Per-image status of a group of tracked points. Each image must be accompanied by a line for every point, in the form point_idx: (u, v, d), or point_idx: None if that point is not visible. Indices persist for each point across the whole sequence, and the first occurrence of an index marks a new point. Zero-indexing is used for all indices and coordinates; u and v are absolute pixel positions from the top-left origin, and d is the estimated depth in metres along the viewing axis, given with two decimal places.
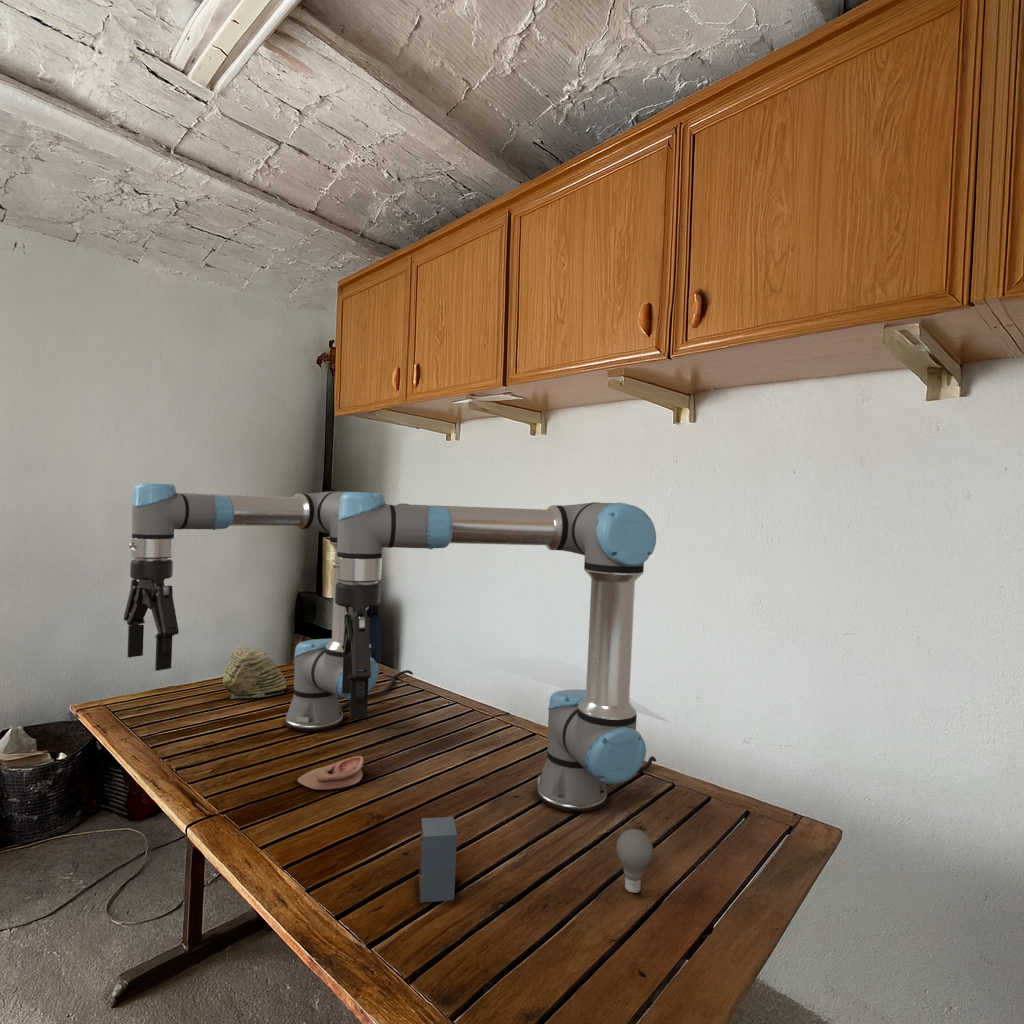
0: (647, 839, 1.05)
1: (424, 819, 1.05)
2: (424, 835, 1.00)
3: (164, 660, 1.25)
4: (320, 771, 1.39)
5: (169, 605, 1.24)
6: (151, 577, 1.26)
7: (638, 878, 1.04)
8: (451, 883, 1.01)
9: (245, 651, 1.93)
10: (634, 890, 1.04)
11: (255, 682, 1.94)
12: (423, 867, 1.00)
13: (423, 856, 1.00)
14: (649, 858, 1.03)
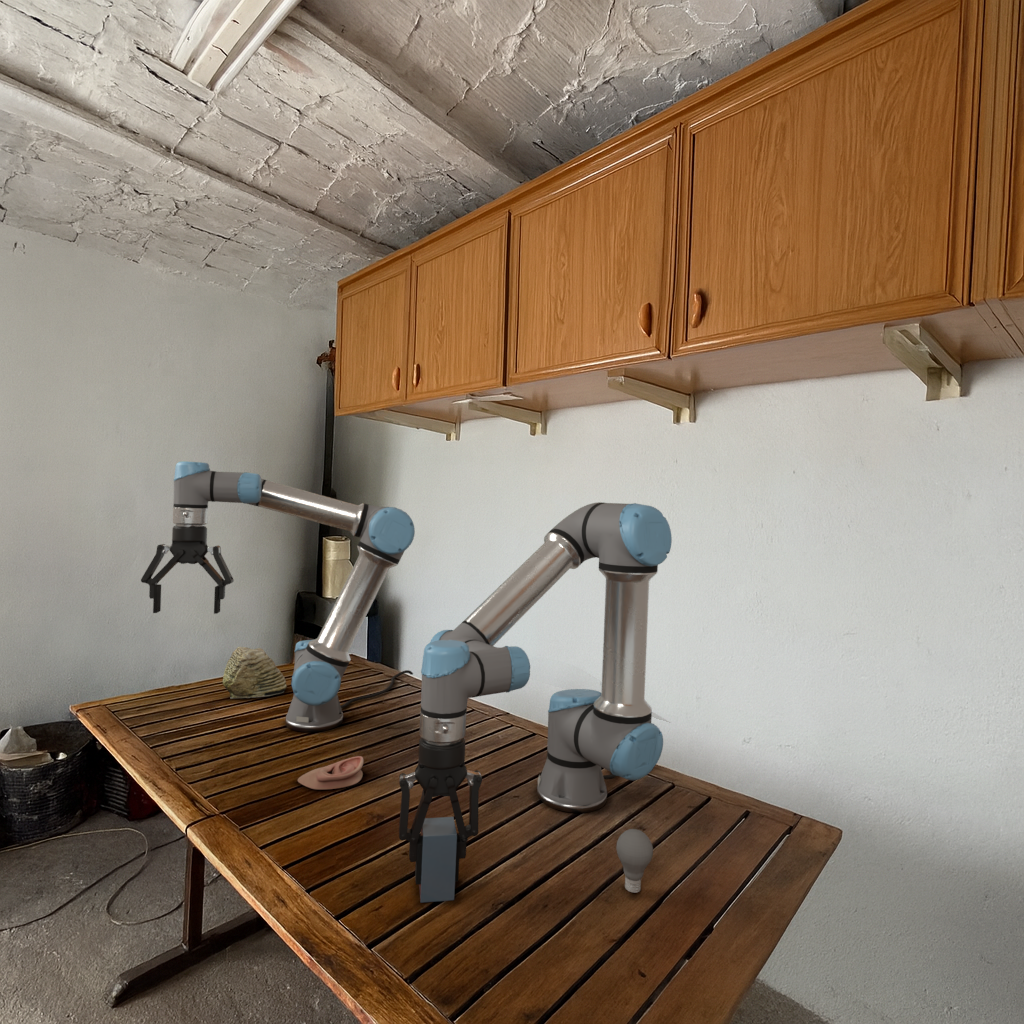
0: (647, 839, 1.05)
1: None
2: (424, 835, 1.00)
3: (218, 605, 1.56)
4: (320, 771, 1.39)
5: (223, 560, 1.56)
6: (203, 539, 1.53)
7: (638, 878, 1.04)
8: (451, 883, 1.01)
9: (245, 651, 1.93)
10: (634, 890, 1.04)
11: (255, 682, 1.94)
12: (423, 867, 1.00)
13: (423, 856, 1.00)
14: (649, 858, 1.03)
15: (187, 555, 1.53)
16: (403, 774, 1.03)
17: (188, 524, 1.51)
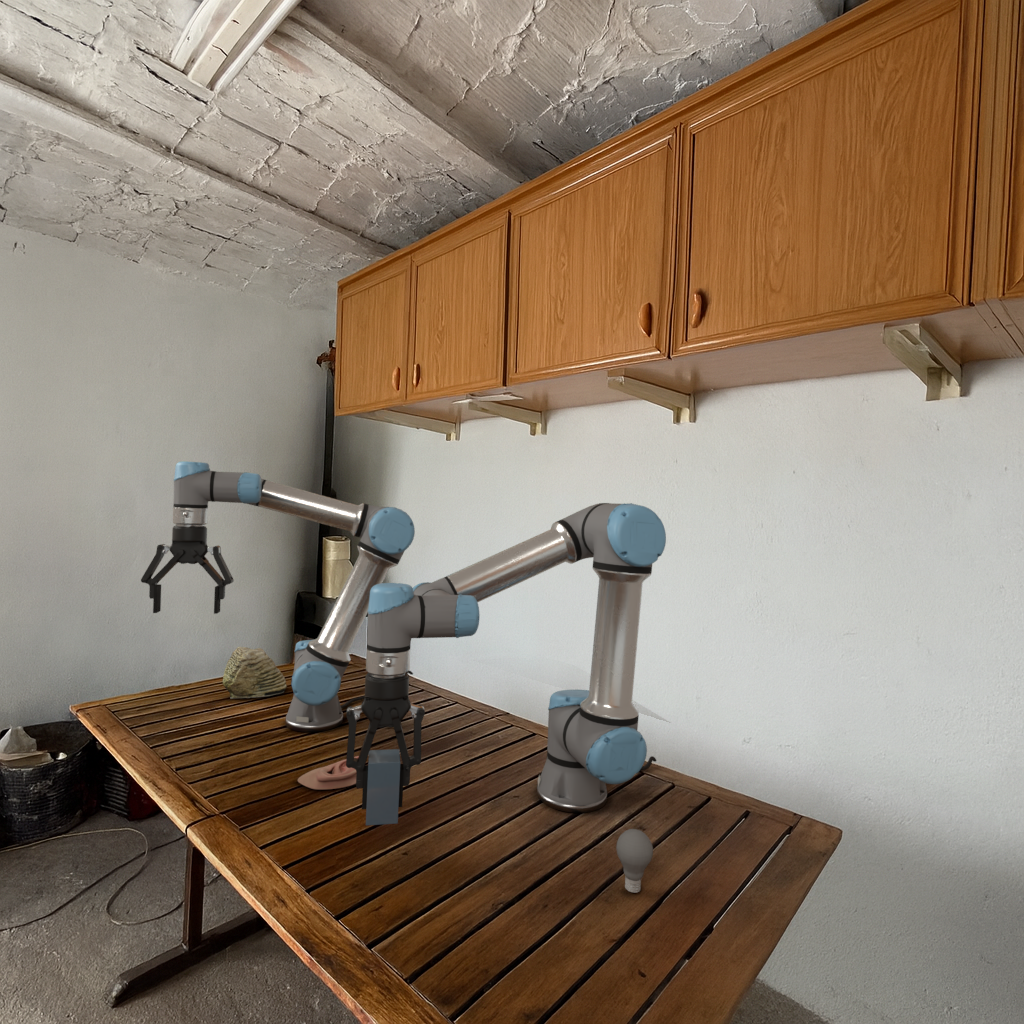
0: (647, 839, 1.05)
1: (371, 751, 1.13)
2: (369, 762, 1.08)
3: (218, 605, 1.56)
4: (320, 771, 1.39)
5: (223, 560, 1.56)
6: (203, 539, 1.53)
7: (638, 878, 1.04)
8: (395, 807, 1.08)
9: (245, 651, 1.93)
10: (634, 890, 1.04)
11: (255, 682, 1.94)
12: (368, 792, 1.07)
13: (368, 782, 1.07)
14: (649, 858, 1.03)
15: (187, 555, 1.53)
16: (350, 707, 1.10)
17: (188, 524, 1.51)
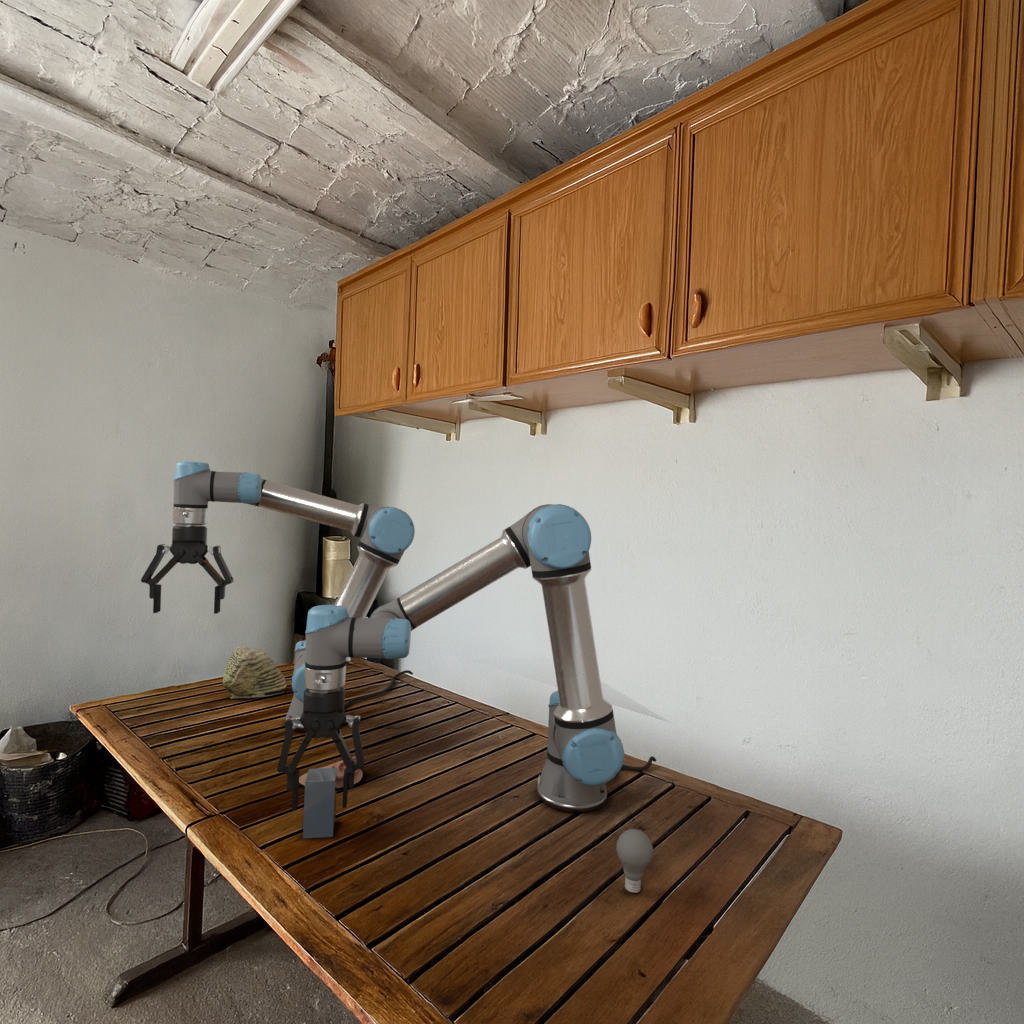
0: (647, 839, 1.05)
1: (311, 769, 1.22)
2: (306, 781, 1.17)
3: (218, 605, 1.56)
4: None
5: (223, 560, 1.56)
6: (203, 539, 1.53)
7: (638, 878, 1.04)
8: (330, 822, 1.18)
9: (245, 651, 1.93)
10: (634, 890, 1.04)
11: (255, 682, 1.94)
12: (305, 808, 1.17)
13: (305, 798, 1.17)
14: (649, 858, 1.03)
15: (187, 555, 1.53)
16: (290, 716, 1.20)
17: (188, 524, 1.51)
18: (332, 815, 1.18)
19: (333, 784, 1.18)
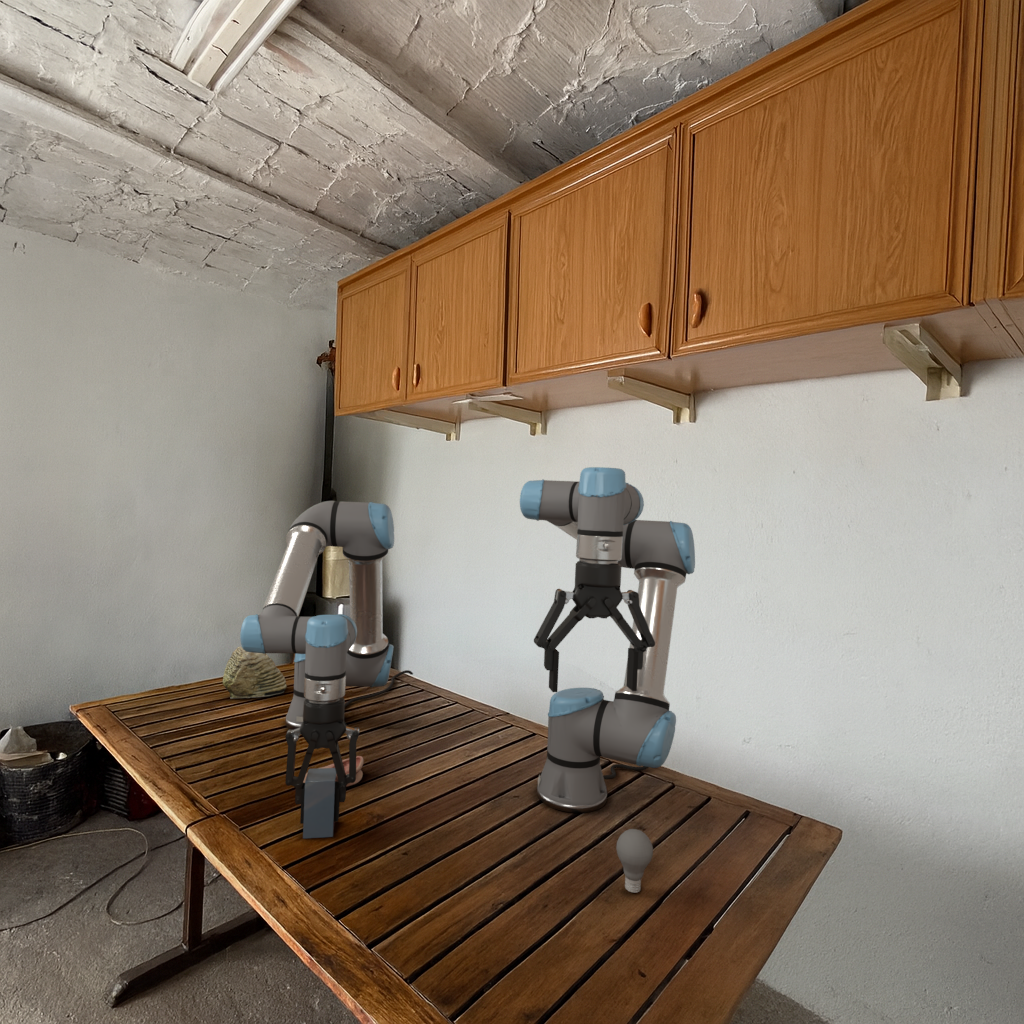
0: (647, 839, 1.05)
1: (311, 769, 1.22)
2: (306, 781, 1.17)
3: None
4: None
5: None
6: (342, 717, 1.20)
7: (638, 878, 1.04)
8: (330, 822, 1.18)
9: (245, 651, 1.93)
10: (634, 890, 1.04)
11: (255, 682, 1.94)
12: (305, 808, 1.17)
13: (305, 798, 1.17)
14: (649, 858, 1.03)
15: (322, 738, 1.19)
16: None
17: (326, 701, 1.17)
18: (332, 815, 1.18)
19: (333, 784, 1.18)
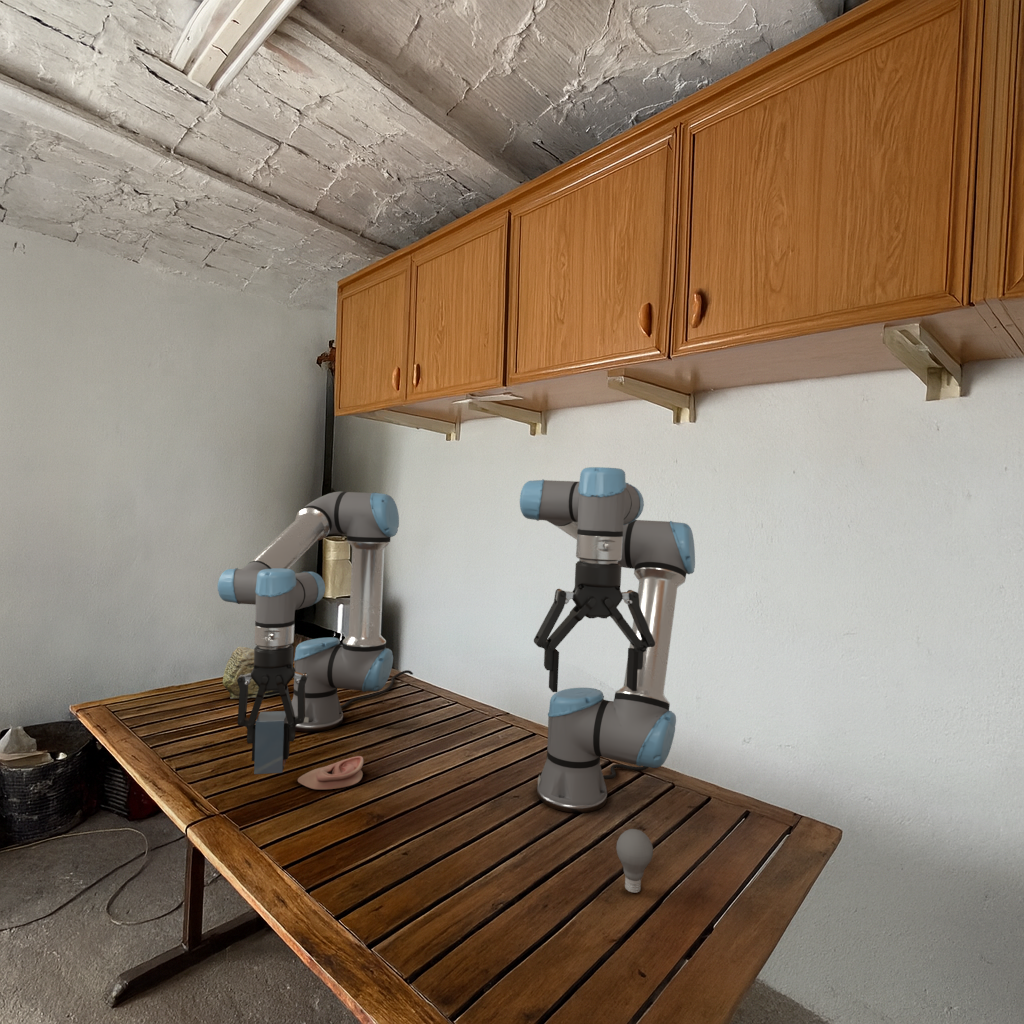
0: (647, 839, 1.05)
1: (262, 712, 1.31)
2: (257, 721, 1.26)
3: (288, 748, 1.31)
4: (320, 771, 1.39)
5: (304, 693, 1.31)
6: (290, 662, 1.29)
7: (638, 878, 1.04)
8: (279, 759, 1.27)
9: (245, 651, 1.93)
10: (634, 890, 1.04)
11: None
12: (256, 746, 1.26)
13: (256, 737, 1.26)
14: (649, 858, 1.03)
15: (272, 681, 1.28)
16: None
17: (274, 647, 1.26)
18: (281, 753, 1.27)
19: (282, 724, 1.27)
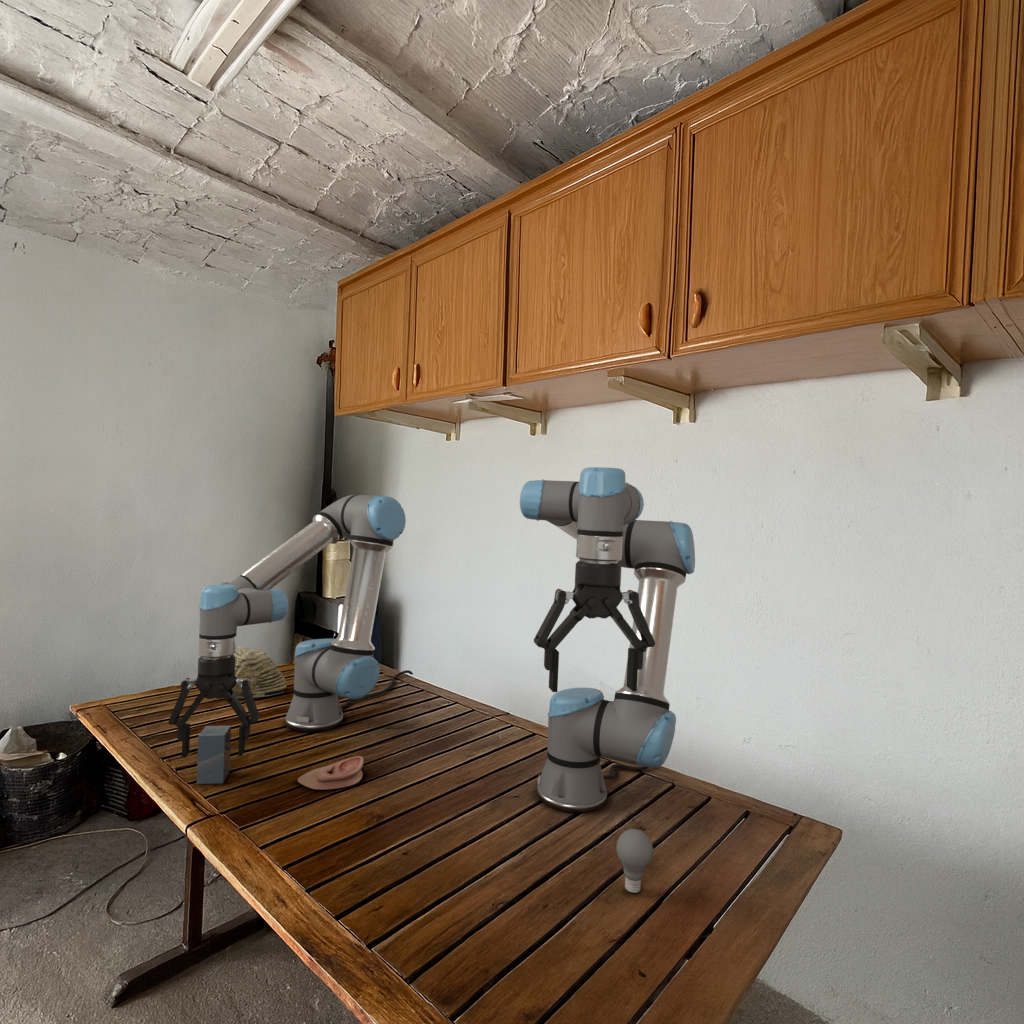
0: (647, 839, 1.05)
1: (207, 726, 1.42)
2: (199, 735, 1.37)
3: (243, 745, 1.41)
4: (320, 771, 1.39)
5: (251, 695, 1.42)
6: (231, 672, 1.39)
7: (638, 878, 1.04)
8: (220, 770, 1.38)
9: (245, 651, 1.93)
10: (634, 890, 1.04)
11: (255, 682, 1.94)
12: (198, 758, 1.37)
13: (198, 750, 1.37)
14: (649, 858, 1.03)
15: (214, 689, 1.39)
16: None
17: (216, 657, 1.37)
18: (222, 764, 1.38)
19: (223, 738, 1.38)
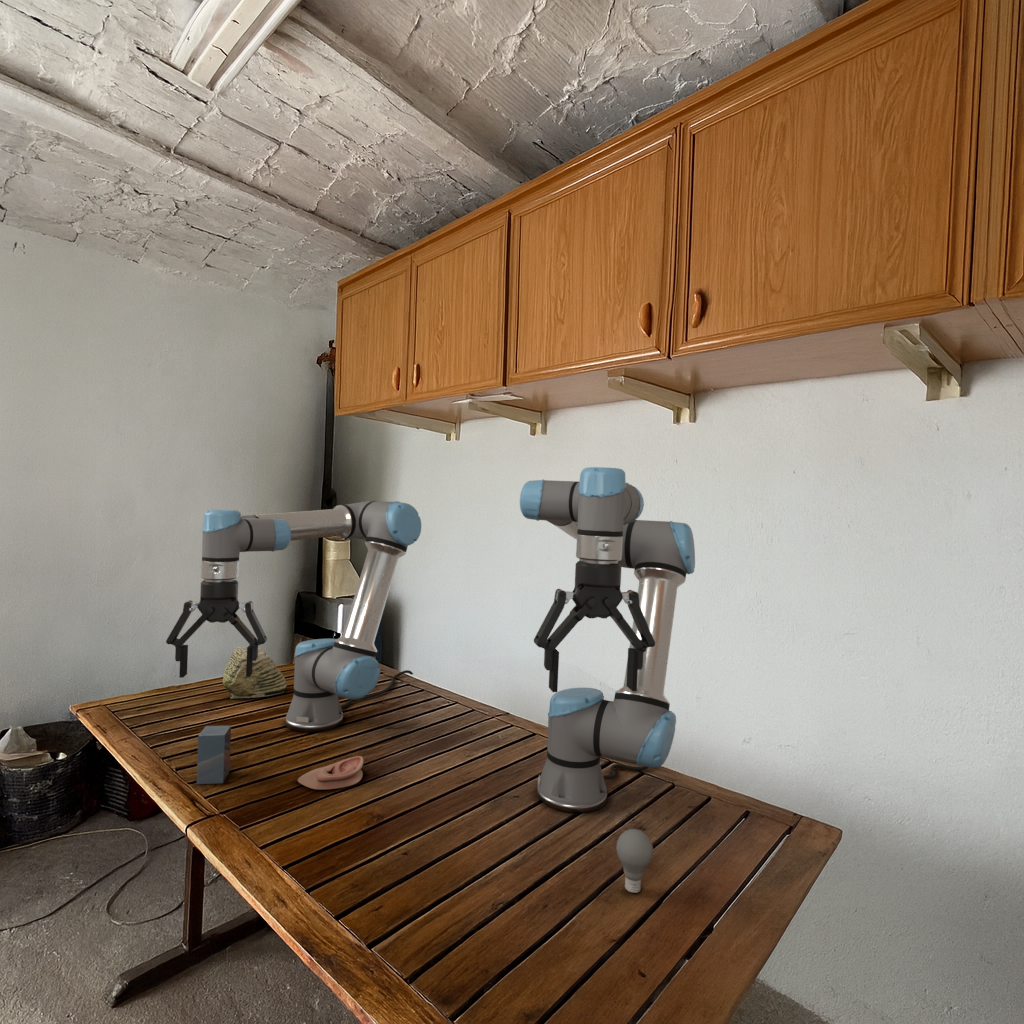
0: (647, 839, 1.05)
1: (207, 726, 1.42)
2: (199, 735, 1.37)
3: (251, 667, 1.41)
4: (320, 771, 1.39)
5: (255, 617, 1.41)
6: (234, 596, 1.39)
7: (638, 878, 1.04)
8: (220, 770, 1.38)
9: (245, 651, 1.93)
10: (634, 890, 1.04)
11: (255, 682, 1.94)
12: (198, 758, 1.37)
13: (198, 750, 1.37)
14: (649, 858, 1.03)
15: (217, 613, 1.38)
16: None
17: (218, 580, 1.36)
18: (222, 764, 1.38)
19: (223, 738, 1.38)
